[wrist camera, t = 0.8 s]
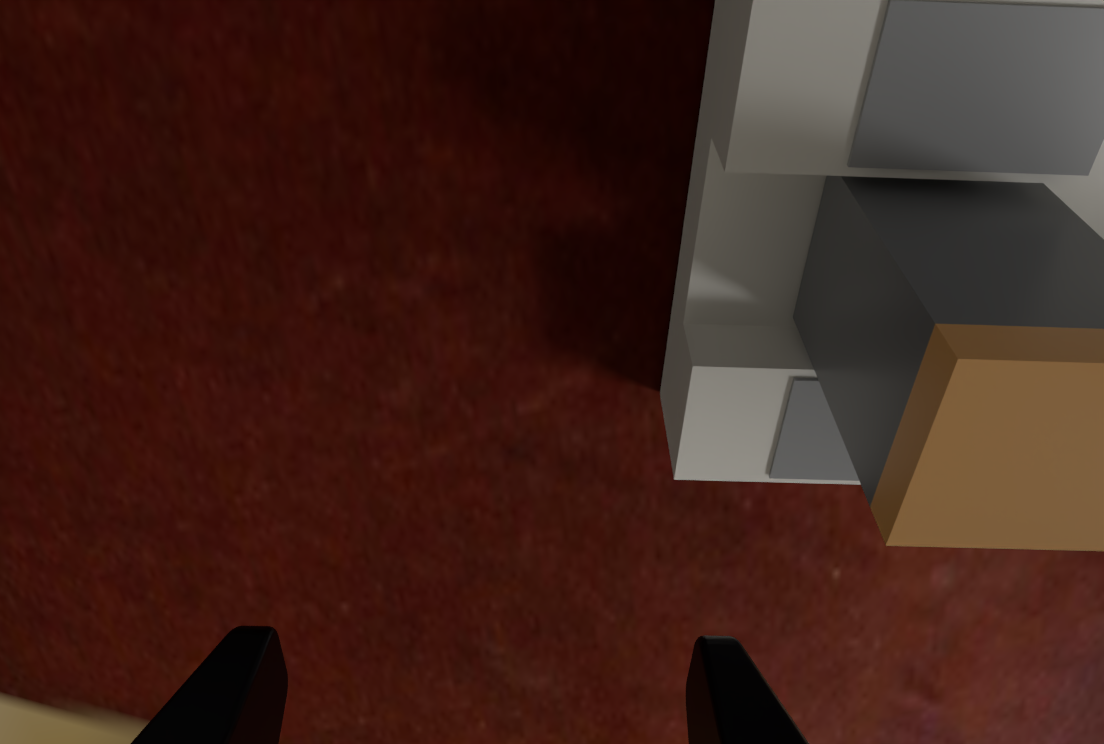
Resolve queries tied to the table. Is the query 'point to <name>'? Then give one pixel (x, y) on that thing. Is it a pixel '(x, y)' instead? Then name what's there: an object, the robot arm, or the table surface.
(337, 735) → the table surface
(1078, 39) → the switch plate
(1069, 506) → the switch tab
